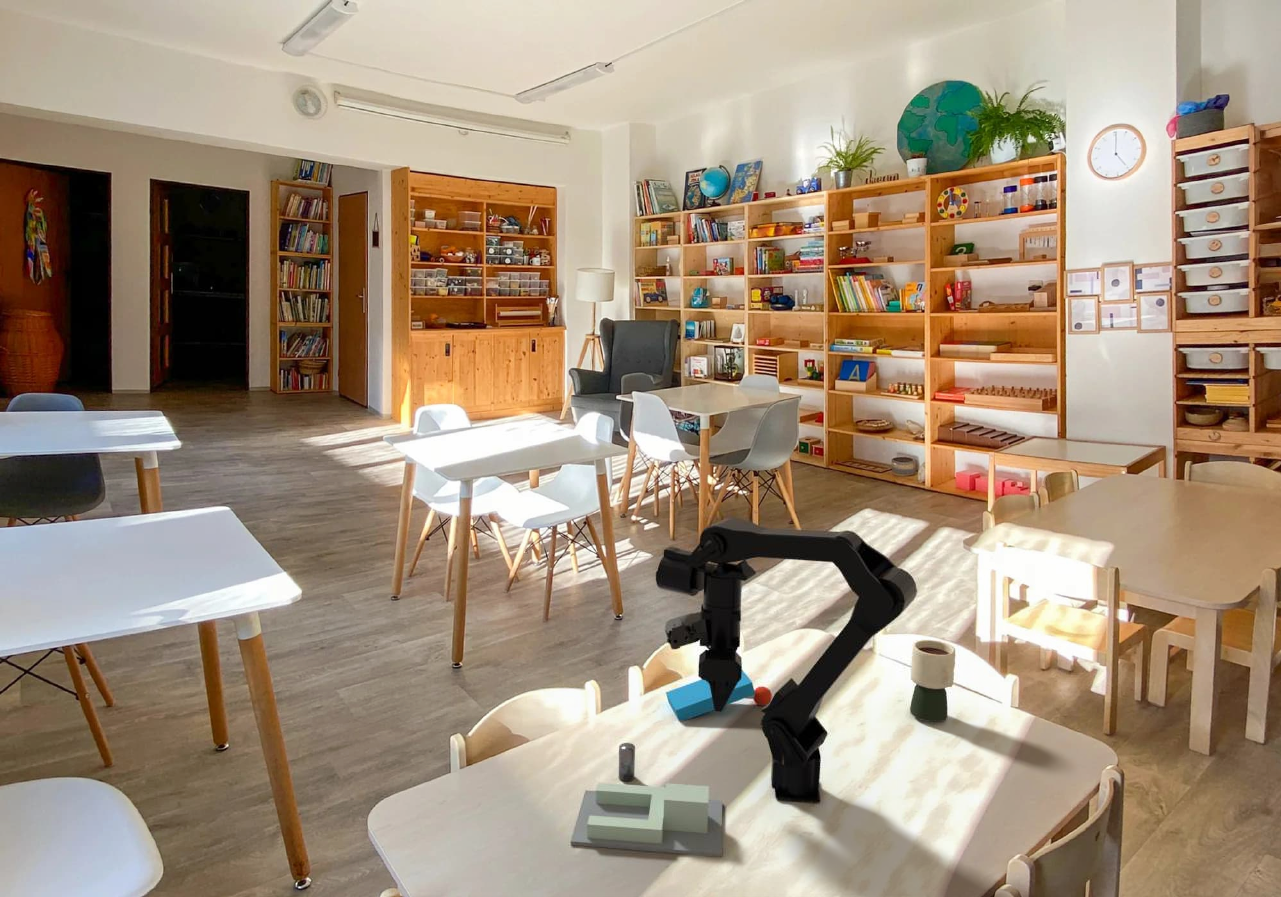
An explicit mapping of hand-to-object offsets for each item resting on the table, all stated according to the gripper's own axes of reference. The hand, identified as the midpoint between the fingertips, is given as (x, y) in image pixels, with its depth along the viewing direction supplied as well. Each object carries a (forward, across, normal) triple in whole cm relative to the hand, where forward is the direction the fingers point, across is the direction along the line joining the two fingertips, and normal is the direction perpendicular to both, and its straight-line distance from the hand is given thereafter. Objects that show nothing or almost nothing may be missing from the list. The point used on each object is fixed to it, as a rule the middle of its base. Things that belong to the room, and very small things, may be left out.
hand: (718, 697), depth 133 cm
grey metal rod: (+11, +6, -14) cm, 18 cm away
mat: (+11, +17, -9) cm, 22 cm away
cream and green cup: (+11, -20, +37) cm, 44 cm away
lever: (+12, -19, +1) cm, 22 cm away
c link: (+11, +17, -9) cm, 22 cm away
